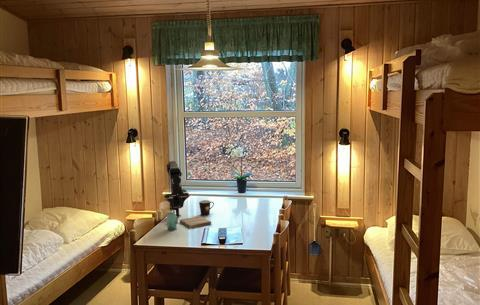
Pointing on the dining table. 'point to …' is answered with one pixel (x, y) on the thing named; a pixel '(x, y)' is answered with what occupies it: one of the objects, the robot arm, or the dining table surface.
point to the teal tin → (171, 220)
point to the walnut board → (195, 222)
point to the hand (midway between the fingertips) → (177, 207)
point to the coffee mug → (205, 207)
